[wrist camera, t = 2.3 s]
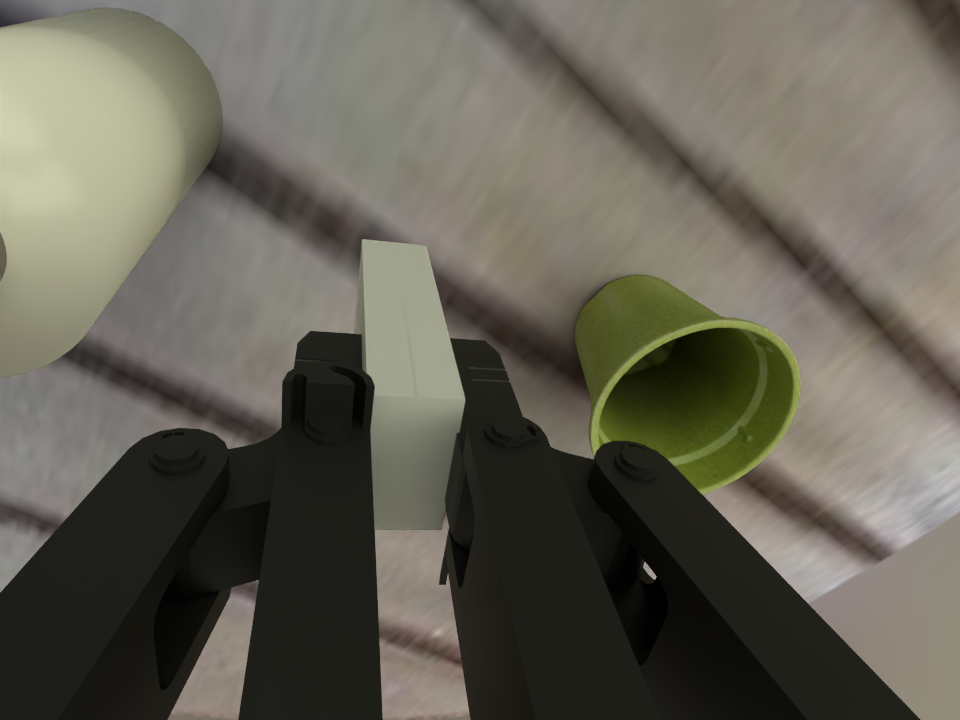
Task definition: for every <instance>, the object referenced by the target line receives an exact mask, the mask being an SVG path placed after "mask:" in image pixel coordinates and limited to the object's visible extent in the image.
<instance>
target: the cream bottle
mask: <svg viewBox="0 0 960 720" xmlns="http://www.w3.org/2000/svg"><path fill="white" fill-rule="evenodd" d="M222 120H223V117H222V106H221V102H220V97H219V93H218V91H217V88H216V85H215V82H214V80H213V78H212V76H211V74H210V72H209V70H208V69H207V67H206V66H205V64H204V62H203V61H202V59H201V58H200V57H199V56H198V54H197V53H196V52H195V51H194V49H193V48H192V47H191V46H190V45H189V44H188V43H187V42H186V41H185V40H184V39H182V38H181V37H180V36H179V35H178V34H176V33H175V32H174V31H173V30H171V29H170V28H168V27H166V26H165V25H163V24H162V23H160V22H158V21H156V20H154V19H152V18H150V17H148V16H145V15H142V14H139V13H137V12H133V11H129V10H124V9H118V8H94V9H89V10H84V11H79V12H74V13H69V14H64V15H59V16H54V17H50V18H45V19H40V20H35V21H30V22H25V23H20V24H15V25H10V26H6V27H1V28H0V378H5V377H9V376H14V375H18V374H23V373H26V372H29V371H32V370H35V369H38V368H41V367H43V366H45V365H47V364H49V363H51V362H53V361H55V360H57V359H58V358H60V357H61V356H62V355H64V354H65V353H67V352H68V351H70V350H71V349H72V348H73V347H74V346H75V345H76V344H77V343H78V342H79V341H80V340H81V339H82V338H83V337H84V336H85V335H86V333H87V332H88V331H89V329H90V328H91V326H92V325H93V324H94V322H95V321H96V320H97V318H98V317H99V315H100V314H101V313H102V311H103V310H104V308H105V307H106V306H107V304H108V303H109V301H110V300H111V299H112V297H113V296H114V295H115V293H116V292H117V290H118V289H119V288H120V286H121V285H122V283H123V282H124V281H125V279H126V278H127V276H128V275H129V274H130V272H131V271H132V270H133V268H134V267H135V265H136V264H137V263H138V261H139V260H140V258H141V257H142V256H143V254H144V253H145V251H146V250H147V249H148V247H149V246H150V244H151V243H152V242H153V240H154V239H155V238H156V236H157V235H158V233H159V232H160V231H161V229H162V228H163V226H164V225H165V224H166V222H167V221H168V219H169V218H170V217H171V215H172V214H173V213H174V211H175V210H176V208H177V207H178V206H179V204H180V203H181V201H182V200H183V199H184V197H185V196H186V194H187V193H188V192H189V190H190V189H191V187H192V186H193V185H194V183H195V182H196V181H197V179H198V178H199V176H200V175H201V174H202V172H203V171H204V169H205V168H206V167H207V165H208V164H209V162H210V161H211V160H212V158H213V156H214V154H215V152H216V150H217V148H218V145H219V142H220V138H221V132H222Z"/></svg>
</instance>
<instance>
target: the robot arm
mask: <svg viewBox="0 0 960 720" xmlns="http://www.w3.org/2000/svg"><path fill="white" fill-rule="evenodd" d="M445 510H446V511H447V517H448V523H449V531H448V536H447V541H446V547H445V552H444V557H443V562H442V568H441V573H440V581H439V585H446V580H447V575H448V574H449V581H450V587H451V594H452V601H453V607H454V614H455V620H456V627H457V633H458V640H459V647H460V653H461V660H462V666H463V673H464V679H465V686H466V693H467V699H468V706H469V712H470V718H471V720H920V719H919V718H918V717H917V716H916V715H915V714H914V713H913V712H912V711H911V709H910V708H909V707H908V706H907V705H906V704H905V703H904V702H903V701H902V700H901V699H900V698H899V697H898V696H897V695H896V694H895V693H894V692H893V691H892V690H891V689H890V688H889V687H888V686H887V685H886V684H885V683H884V682H883V681H882V680H881V679H880V678H879V676H877V675H876V674H875V672H874V671H873V670H872V669H871V668H870V667H869V666H868V665H867V664H866V663H865V662H864V661H863V660H862V659H861V658H860V657H859V656H858V655H857V654H856V653H855V652H854V651H853V650H852V649H851V648H850V647H849V646H848V645H847V644H846V642H845V641H844V640H843V639H842V638H840V636H839V635H838V634H837V633H836V632H835V631H834V630H833V629H832V628H831V627H830V626H829V625H828V624H827V623H826V622H825V621H824V620H823V619H822V618H821V617H820V616H819V615H818V614H817V613H816V612H815V610H814V609H812V608H811V606H810V605H809V604H808V603H807V602H806V601H805V600H804V599H803V598H802V597H801V596H800V595H799V594H798V593H797V592H796V591H795V590H794V589H793V588H792V587H791V586H790V585H789V584H788V583H787V582H786V581H785V580H784V579H783V578H782V576H781V575H780V574H779V573H778V572H777V571H776V570H775V569H774V568H773V567H772V566H771V565H770V564H769V563H768V562H767V561H766V560H765V559H764V558H763V557H762V556H761V555H760V554H759V553H758V552H757V551H756V550H755V549H754V548H753V547H752V546H751V545H750V543H749V542H748V541H747V540H746V539H745V538H744V537H743V536H742V535H741V534H740V533H739V532H738V531H737V530H736V529H735V528H734V527H733V526H732V525H731V524H730V523H729V522H728V521H727V520H726V519H725V518H724V517H723V516H722V515H721V514H720V513H719V512H718V510H717V509H716V508H715V507H714V506H713V505H712V504H711V503H710V502H709V501H708V500H707V499H706V498H705V497H704V496H703V495H702V494H701V493H700V492H699V491H698V490H697V489H696V488H695V487H694V486H693V485H692V484H691V483H690V482H689V481H688V480H687V479H686V477H685V476H684V475H683V474H682V473H681V472H680V471H679V470H678V469H677V468H676V467H675V466H674V465H673V464H672V463H671V462H670V461H669V460H668V459H667V458H665V457H664V456H663V455H661V454H660V453H659V452H658V451H656V450H654V449H652V448H649V447H647V446H645V445H643V444H640V443H635V442H631V441H611V442H608V443H605V444H602V445H601V446H600V448H599V449H598V450H597V451H596V453H595V457H594V460H593V459H589V458H585V457H581V456H576V455H572V454H568V453H565V452H562V451H559V450H556V449H554V448H552V447H550V444H549V442H548V439H547V437H546V435H545V434H544V432H543V431H542V429H541V428H540V427H539V426H537V425H536V424H535V423H533V422H532V421H530V420H529V419H527V418H524V417H523V416H522V413H521V410H520V408H519V405H518V402H517V400H516V397H515V394H514V392H513V389H512V386H511V384H510V382H509V378H508V375H507V373H506V371H505V367H504V365H503V362H502V359H501V357H500V354H499V353H498V352H497V351H496V350H495V349H494V348H493V347H491V346H490V345H489V344H488V343H487V342H486V341H482V340H467V339H452V338H450V337H449V333H448V330H447V326H446V322H445V318H444V314H443V310H442V306H441V302H440V298H439V294H438V291H437V287H436V283H435V279H434V275H433V271H432V267H431V263H430V259H429V256H428V252H427V248H426V245H416V244H406V243H396V242H385V241H375V240H365V239H362V247H361V260H360V273H359V285H358V298H357V310H356V323H355V334H349V333H333V332H318V331H310V332H309V333H308V334H307V335H306V336H305V337H304V338H302V339H301V340H300V341H299V342H298V344H297V351H296V358H295V365H294V369H293V370H291V371H289V372H288V373H287V375H286V376H285V378H284V380H283V384H282V428H281V429H280V430H279V431H278V432H277V433H275V434H274V435H273V436H271V437H270V438H268V439H266V440H263V441H261V442H259V443H256V444H252V445H248V446H244V447H238V448H233V449H227V447H226V444H225V442H224V441H222V440H221V439H220V438H219V437H217V436H216V435H215V434H212V433H209V432H206V431H203V430H200V429H188V428H177V429H171V430H164V431H159V432H157V433H154V434H152V435H149V436H147V437H144V438H142V439H141V440H140V441H138V442H137V443H136V444H134V445H133V446H132V447H130V448H129V449H128V450H127V452H126V453H125V454H124V455H123V456H122V457H121V458H120V459H119V461H118V462H117V463H116V464H115V465H114V466H113V467H112V468H111V469H110V471H109V472H108V473H107V474H106V475H105V476H104V477H103V478H102V480H101V481H100V482H99V483H98V484H97V485H96V486H95V487H94V489H93V490H92V491H91V492H90V493H89V494H88V495H87V496H86V497H85V499H84V500H83V501H82V502H81V503H80V504H79V505H78V506H77V508H76V509H75V510H74V511H73V512H72V513H71V514H70V515H69V517H68V518H67V519H66V520H65V521H64V522H63V523H62V524H61V525H60V527H59V528H58V529H57V530H56V531H55V532H54V533H53V534H52V536H51V537H50V538H49V539H48V540H47V541H46V542H45V543H44V545H43V546H42V547H41V548H40V549H39V550H38V551H37V552H36V553H35V555H34V556H33V557H32V558H31V559H30V560H29V561H28V562H27V564H26V565H25V566H24V567H23V568H22V569H21V570H20V571H19V572H18V574H17V575H16V576H15V577H14V578H13V579H12V580H11V581H10V583H9V584H8V585H7V586H6V587H5V588H4V589H3V590H2V592H1V593H0V720H167V719H168V717H169V715H170V713H171V711H172V710H173V708H174V706H175V704H176V702H177V700H178V698H179V696H180V694H181V692H182V690H183V688H184V686H185V684H186V682H187V680H188V678H189V676H190V674H191V672H192V670H193V668H194V666H195V664H196V662H197V660H198V658H199V656H200V654H201V652H202V650H203V648H204V646H205V644H206V642H207V640H208V638H209V636H210V634H211V632H212V631H213V629H214V627H215V625H216V623H217V621H218V619H219V617H220V615H221V613H222V611H223V609H224V607H225V605H226V603H227V601H228V599H229V597H230V593H231V588H232V587H234V586H238V585H241V584H245V583H249V582H252V581H256V580H259V584H258V591H257V598H256V605H255V611H254V618H253V625H252V632H251V638H250V645H249V652H248V659H247V666H246V672H245V679H244V686H243V693H242V699H241V706H240V713H239V720H383V719H382V696H381V672H380V648H379V624H378V600H377V576H376V552H375V530H442V526H443V521H444V515H445ZM644 562H646V563H647V564H648V566H649V567H650V568H651V569H652V571H653V572H654V573H655V575H656V576H657V577H656V579H655V580H653V579H652V578H651V577H650V576H649V575H648V574H647V572H646V571H645V570H644V568H643V565H644Z"/></svg>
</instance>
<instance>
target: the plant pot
mask: <svg viewBox="0 0 960 720" xmlns="http://www.w3.org/2000/svg"><path fill="white" fill-rule="evenodd" d="M575 343H576V348H577V351H578V355H579V358H580V362H581V366H582V369H583V373H584V376H585V380H586V383H587V387H588V390H589V394H590V398H591V402H592V405H591V416H590V424H589V439H590V445H591V449H592V452H593V455H594V457H595V453H596V451H597V450H598V449H599V448H600V446H601V445H602V444H605V443H608V442H611V441H631V442H635V443H640V444H643V445H645V446H647V447H649V448H652V449H654V450H656V451H658V452H659V453H660V454H661V455H663V456H664V457H665V458H667V459H668V460H669V461H670V462H671V463H672V464H673V465H674V466H675V467H676V468H677V469H678V470H679V471H680V472H681V473H682V474H683V475H684V476H685V477H686V479H687V480H688V481H689V482H690V483H691V484H692V485H693V486H694V487H695V488H696V489H697V490H698V491H699V492H700V493H701V494H705V493H708V492H711V491H714V490H716V489H718V488H720V487H723V486H725V485H727V484H729V483H731V482H733V481H735V480H736V479H738V478H740V477H741V476H743V475H744V474H746V473H747V472H749V471H750V470H751V469H753V468H754V467H755V466H756V465H758V464H759V463H760V462H761V461H763V460H764V458H765V457H766V456H767V455H768V454H769V453H770V452H771V451H772V450H773V449H774V447H775V445H776V444H777V443H778V442H779V441H780V439H781V438H782V437H783V436H784V434H785V433H786V431H787V429H788V428H789V426H790V424H791V422H792V420H793V417H794V415H795V412H796V408H797V404H798V402H799V397H800V372H799V367H798V363H797V361H796V359H795V357H794V355H793V353H792V351H791V350H790V348H789V347H788V346H787V344H786V343H785V342H784V341H783V340H782V339H781V338H780V337H779V336H777V335H776V334H775V333H773V332H772V331H770V330H769V329H767V328H765V327H763V326H761V325H759V324H756V323H753V322H750V321H746V320H742V319H736V318H725V317H721V316H719V315H718V314H716V313H714V312H713V311H711V310H710V309H708V308H706V307H705V306H703V305H702V304H700V303H698V302H697V301H695V300H694V299H692V298H691V297H689V296H687V295H686V294H684V293H683V292H681V291H680V290H678V289H677V288H675V287H673V286H672V285H670V284H669V283H667V282H665V281H663V280H661V279H659V278H656V277H652V276H647V275H633V276H628V277H624V278H620V279H617V280H615V281H613V282H610V283H609V284H607V285H606V286H604V288H603V289H602V290H601V291H600V292H599V293H598V294H597V295H596V296H595V297H594V298H593V299H592V300H590V301H589V302H588V303H587V304H586V305H585V306H584V307H583V309H582V310H581V312H580V314H579V317H578V320H577V323H576V327H575ZM636 362H638V363H636ZM635 363H636V364H635Z"/></svg>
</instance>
